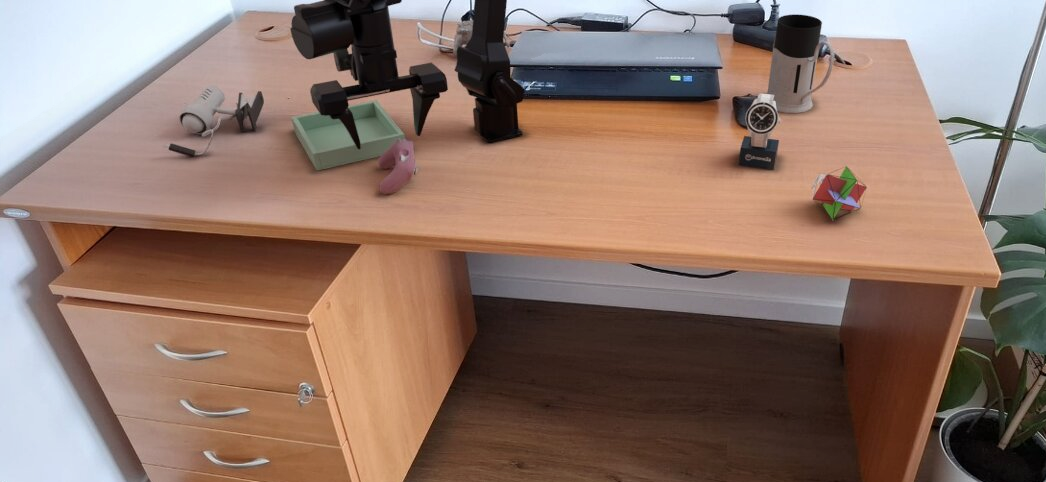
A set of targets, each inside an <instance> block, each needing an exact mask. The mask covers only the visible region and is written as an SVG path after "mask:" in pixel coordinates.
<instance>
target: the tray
mask: <svg viewBox="0 0 1046 482" xmlns="http://www.w3.org/2000/svg"><path fill="white" fill-rule="evenodd" d="M348 108H349V109H350V111H351V112H352V114H353V118H354V121H355V125H356V128H357V132H358V136H359V139H360V145H361V149H359V150H358V149H357V147H356V145H355V144H354V142H353V140H352V138H351V137H350V135H349V133H348V131H347V129H346V128H345V126H344V124H343V123H342V122H341V121H340V119H331V117H330V116H329V115H328V116H324V115H321V114H320V113H319V111H317V112H311V113H305V114H301V115H300V114H299V115H296V116H292V117H291V122H292V126H293V131H294V134H295V135H296V137H297V139H298V140H299V142H300V144H301V145H302V147H303V149H304V150H305V153H306V154H307V156H308V158H309V159H310V161H311V164H312V165H313V166H314V168H315V170H316V171H317V172H318V171H321V170H326V169H331V168H335V167H339V166H344V165H348V164H353V163H356V162H362V161H366V160H370V159H374V158H380V156H381V155H382V154H383V153H384V152H386V151H387V150H388V149H389V148H390V147H391V146H392V145H393V144H394V142H395V141H396V140H399V138H400V139H402V140H403V139H406V135H405V133H404V132H403V130H402V129H401V128H400V127H399V125H398V124H397V123H396V122H395V121H394V119H393V118H392V117H391V116H390V115H389V113H388V112H387V111H386V110H385V108H384V107H383V106H382V105H381V104H380V102H379V101H378V100H371V101H365V102H359V103H355V104H352V105H351V104H350V105H349V106H348Z"/></svg>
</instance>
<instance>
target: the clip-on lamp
mask: <svg viewBox="0 0 1046 482" xmlns="http://www.w3.org/2000/svg"><path fill="white" fill-rule="evenodd" d="M225 98H226V97H225V93H224V91H223V90H222V89H221V88H220V87H218V86H217V85H216V86H215V85H208V86H206V87H205V88H204V89H203V90H202V91H201V93H200V94H199V95H198V97H196V98H195V101H193V103H190V104H187V105H185V106H184V107H183V108H182V109H181V110H180V112H179V116H178V119H179V123H180V125H181V126H182V127H183V128H184V129H185V130H186V131H187V132H189V133H192V134H195V135H201V137H202V138H204V137H207V136H209V135H210V139H209V141H208V144H207V146H206V148H205V149H204V150H203V151H202V152H196V150H195V149H191V148H188V147H185V146H181V145H178V144H175V143H172V142H171V143H170V144H163V147H164V148H168V151H170V152H173V153H178V154H181V155H184V156H188V157H191V158H194V157H195V156H201V155H204V154H205V153H206V152H207V150H208V149H209V147H210V145H211V143H212V140H213V137H214V132H216V131H217V130H218V128H220V125H221V121H222V120H223V121H231V120H234V119H235V118H236V122H237V124H238V127H239V130H240V133H245V125H244V121H245V120H246V119H247V118H248V120H249V123H250V126H251V129H252V131H253V132H256V131H257V128H258V125H257V121H258V119H259V117H260V114H261V111H262V109H263V107H264V104H265V99H264V96H263V92H262V91H261V90H258V91H257V94H255V95H253V96H252V97H250V98H247V97H246V96H245V95H244V94H243V92H238V100H237V102H235V105H236V109H233V108H224V107H221V106H222V104H223V103H224V102H225V100H226V99H225ZM216 113H218V114H221V115H229V116H219V117H218V119H217V123H216V126H214V127H213V124H214V116H215V115H216ZM212 127H213V128H212Z"/></svg>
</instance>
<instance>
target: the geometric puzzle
mask: <svg viewBox="0 0 1046 482" xmlns="http://www.w3.org/2000/svg"><path fill="white" fill-rule="evenodd" d="M843 168H844V169H843ZM842 169H843V171H842V173H841V174H840V176H838V175H833V174H832V173H833V171H831V172H829V173H822V172H820V173H818V175H817V176H816V177H815V179H814V181H813V183H812V186H811V196H812V197H811V198H812V200H813V201H814V202H815V203H818V205H820V206H822V207H823V208H824V209H825V210H824V209H823V208H821V210H822V211H824V213H826V215H828V217H830V219H831V220H832V221H834V220H837V219H840V218H842V217H844V216H846V215H848V214H851V213H854V212H855V211H856V212H857V211H859V210H862V205H863V202H864V201H862V202H861V198H862V196H863V194H865V193H866V192H867V189H868V186H866V184H865V183H863V182H862V181H861V179H860V178H859V177H858V176H856V174H855V173H854V172H853V171H852V170H851V169H850V168H849V167H848V165H845V166H843V167H842ZM839 170H840V168H838V169H836V170H835V172H836V171H839ZM859 183H860V184H859ZM818 184H819V186H818ZM817 186H818V188H817ZM816 189H817V190H816ZM864 198H865V197H863V198H862V200H864ZM858 202H861V204H859V205H858ZM855 208H856V209H855ZM840 210H842V211H848V212H846V213H844V214H842V215H840V216H838V217H836V216H837V214H838V213H839V211H840Z"/></svg>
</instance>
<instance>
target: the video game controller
mask: <svg viewBox="0 0 1046 482" xmlns="http://www.w3.org/2000/svg"><path fill="white" fill-rule="evenodd" d="M414 153H415V152H414V141H413V140H411V139H409V138H405V139H403V140H402V139H400V138H399V140H396V141H395V142H394V144H393V145H392V146H391V147H390V148H389V149H388V150H387V151H386V152H384V153H383V154H382V155H381V156H379V157H378V160H377V166H378V167H379V168H380V169H383V170H387V169H391V168H393V167H394V168H393V170H391V172H390V173H389V174H388V175H386V177H385V178H383V180H382V181H381V183H380V184H379V191H380V193H381V194H383V195H391V194H394V193H396V192H397V191H399V190H400V189H402V188H403V187H404V186H405V185H406V184H407V183H408V182H409V181H411V179H412V177H413V176H415V175H417V174H418V171H419V170H418V167H417V166H416V163H417V162H416V159H415V158H414V155H415V154H414Z"/></svg>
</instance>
